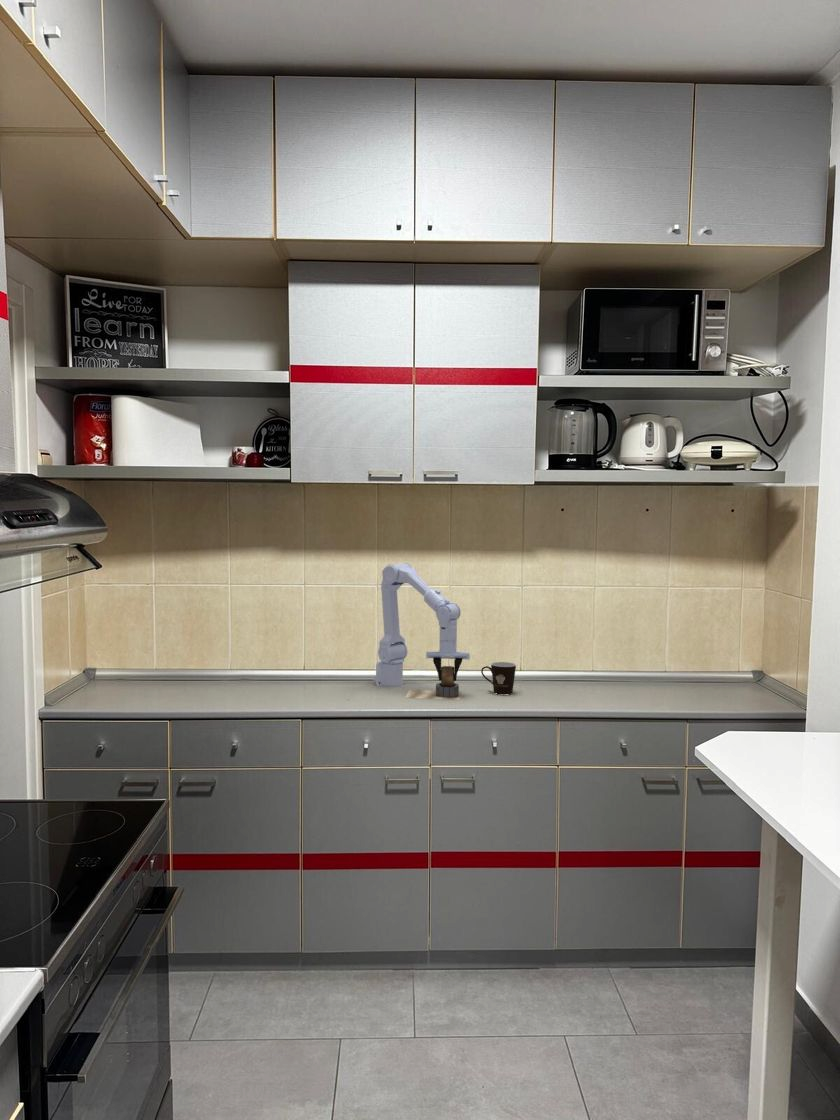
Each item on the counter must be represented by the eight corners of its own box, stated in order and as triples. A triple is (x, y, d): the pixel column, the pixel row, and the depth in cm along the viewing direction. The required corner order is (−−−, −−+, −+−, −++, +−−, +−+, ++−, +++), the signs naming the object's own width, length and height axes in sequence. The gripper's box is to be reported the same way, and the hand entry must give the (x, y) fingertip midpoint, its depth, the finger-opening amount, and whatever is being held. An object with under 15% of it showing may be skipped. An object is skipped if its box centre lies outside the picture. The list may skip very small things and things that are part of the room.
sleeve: (435, 697, 269) (435, 686, 269) (437, 692, 277) (437, 681, 276) (457, 698, 268) (458, 687, 268) (459, 692, 276) (459, 682, 276)
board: (405, 700, 268) (405, 697, 268) (409, 692, 280) (409, 689, 280) (459, 702, 266) (459, 699, 266) (461, 694, 278) (461, 691, 278)
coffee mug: (520, 693, 281) (521, 664, 280) (504, 697, 275) (504, 667, 274) (495, 687, 289) (496, 659, 289) (479, 691, 284) (479, 662, 283)
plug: (440, 686, 270) (440, 668, 270) (441, 683, 275) (441, 665, 274) (453, 686, 270) (453, 668, 269) (454, 683, 274) (454, 666, 274)
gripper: (425, 641, 268) (424, 681, 269) (469, 642, 267) (468, 683, 267) (427, 637, 275) (426, 677, 276) (470, 639, 274) (469, 678, 274)
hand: (447, 680), depth 272 cm, fingers closed on plug, 4 cm apart
